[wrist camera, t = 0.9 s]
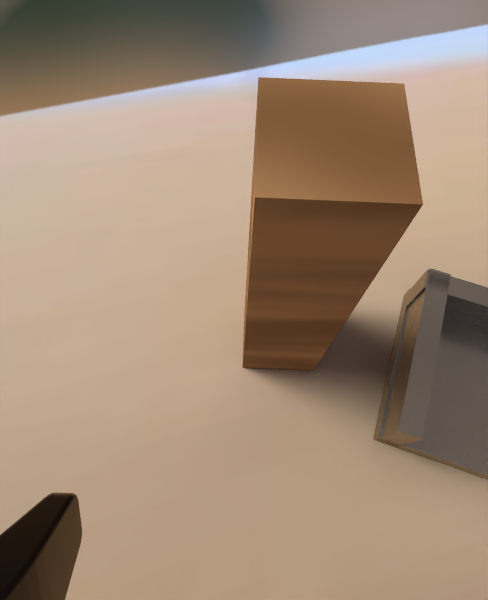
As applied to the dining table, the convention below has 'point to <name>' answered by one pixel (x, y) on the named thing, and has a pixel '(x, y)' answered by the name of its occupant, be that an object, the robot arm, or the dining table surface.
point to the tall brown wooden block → (322, 210)
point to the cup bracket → (440, 374)
